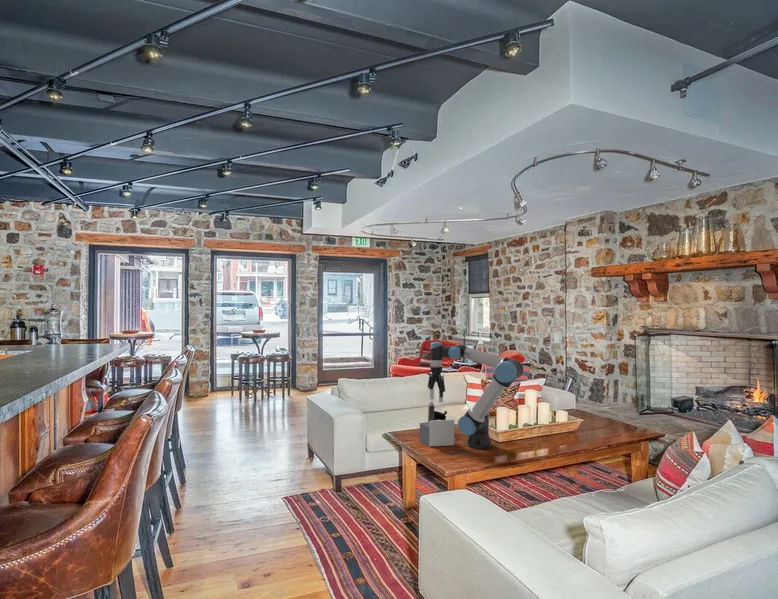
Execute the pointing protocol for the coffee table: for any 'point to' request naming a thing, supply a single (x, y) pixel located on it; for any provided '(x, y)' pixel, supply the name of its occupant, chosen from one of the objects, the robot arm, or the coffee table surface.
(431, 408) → the vintage camera
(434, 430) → the grey square panel
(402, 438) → the coffee table surface
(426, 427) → the grey box
